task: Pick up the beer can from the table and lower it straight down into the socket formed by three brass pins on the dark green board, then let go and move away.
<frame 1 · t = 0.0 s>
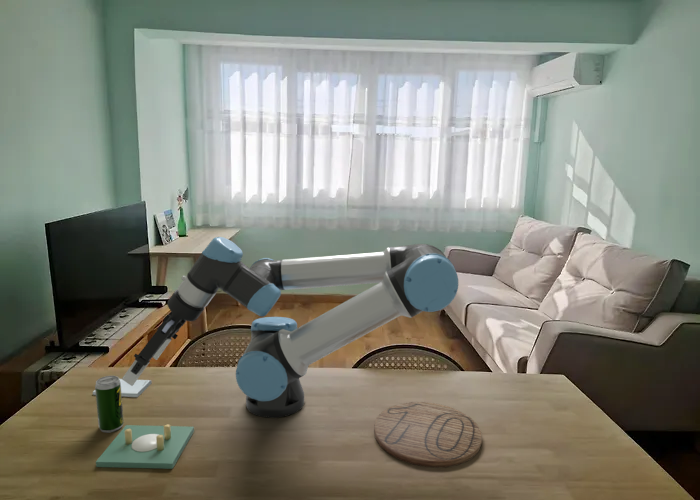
hand: (140, 368, 115), 15 cm above the table, tool tilted 35°, fingers open, 13 cm apart
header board: (148, 447, 111), on the table
trivet: (426, 436, 118), on the table
hard drive: (123, 391, 137), on the table
beer can: (111, 427, 119), on the table
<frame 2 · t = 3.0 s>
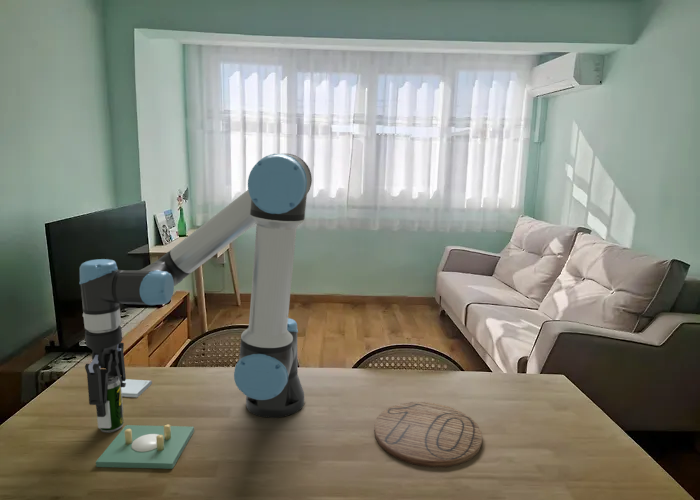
hand: (111, 420, 118), 2 cm above the table, tool pointing down, fingers closed on beer can, 5 cm apart
beer can: (111, 427, 119), on the table, touching gripper
everything else where it was.
when the fingers open (4 cm above the table, at t = 7.3 s): beer can stays where it is, resting on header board.
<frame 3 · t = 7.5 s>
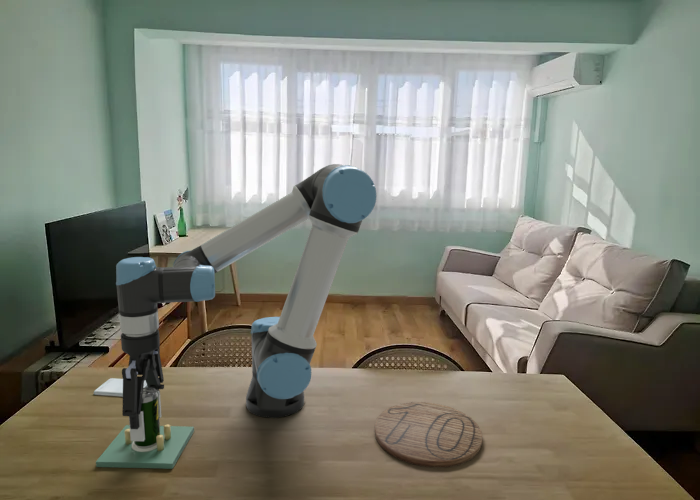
hand: (146, 428, 110), 5 cm above the table, tool pointing down, fingers open, 8 cm apart
beer can: (147, 443, 110), point 1 cm above the table, touching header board
everything else where it was.
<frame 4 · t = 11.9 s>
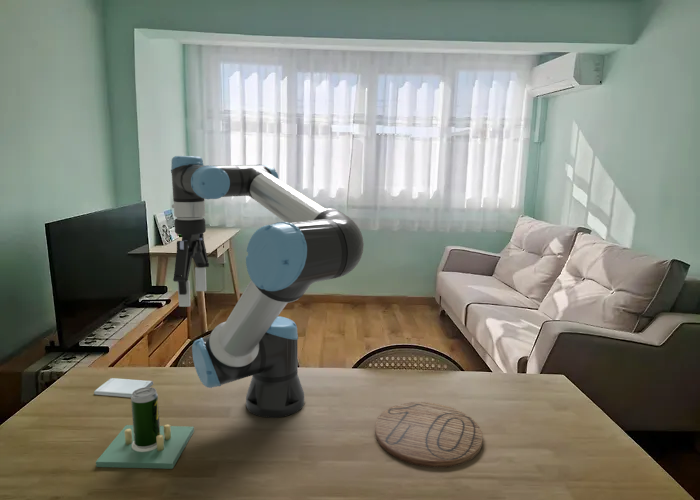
hand: (193, 298, 131), 27 cm above the table, tool pointing down, fingers open, 13 cm apart
nothing on the table moved.
at the end: beer can 0.1 cm from the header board (horizontally); beer can tilted 0°; the gripper is holding nothing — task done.
